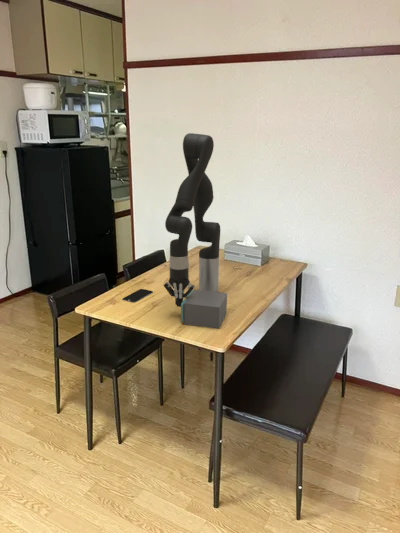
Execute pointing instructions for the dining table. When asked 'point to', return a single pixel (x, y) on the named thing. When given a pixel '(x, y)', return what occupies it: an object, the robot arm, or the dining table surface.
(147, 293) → the smartphone
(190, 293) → the drawer
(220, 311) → the housing
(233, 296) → the dining table surface
